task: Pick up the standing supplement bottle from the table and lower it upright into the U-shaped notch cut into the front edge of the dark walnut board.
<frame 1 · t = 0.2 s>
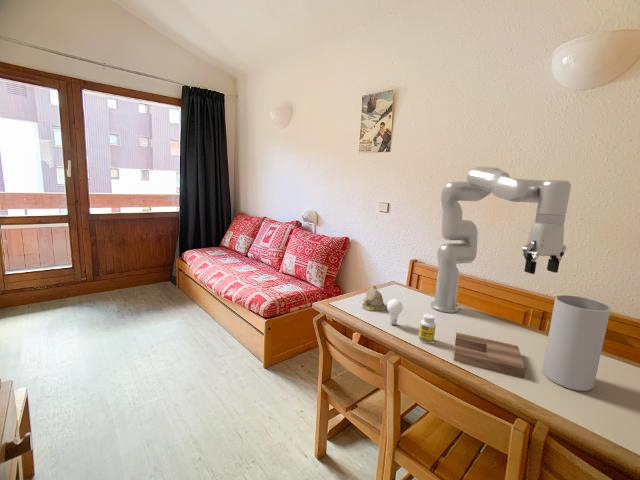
hand: (540, 272, 100), 31 cm above the table, tool pointing down, fingers open, 9 cm apart
ceramic model: (373, 306, 148), on the table
cylinder vase: (566, 379, 95), on the table
notched board: (486, 356, 106), on the table
lightbulb: (393, 325, 128), on the table
supplement bottle: (426, 340, 116), on the table
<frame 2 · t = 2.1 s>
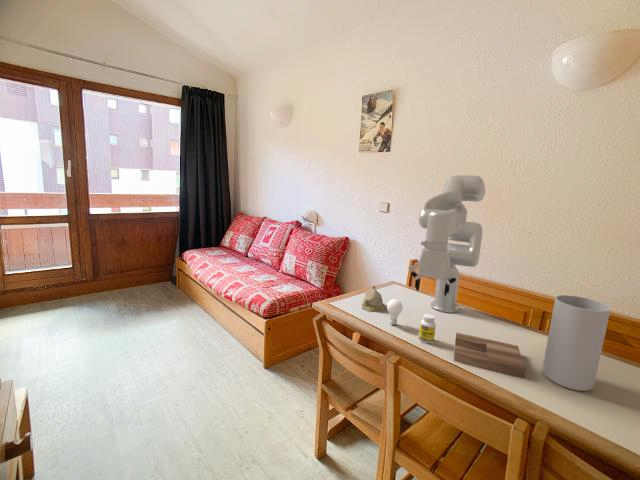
hand: (431, 292, 113), 19 cm above the table, tool pointing down, fingers open, 9 cm apart
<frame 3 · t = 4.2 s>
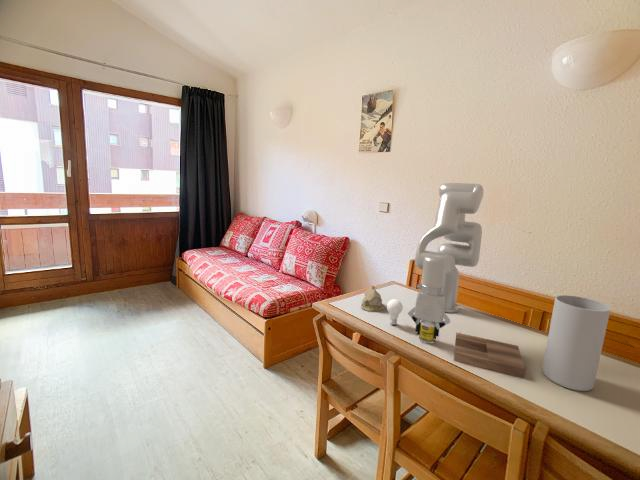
hand: (426, 335, 116), 2 cm above the table, tool pointing down, fingers closed on supplement bottle, 5 cm apart
supplement bottle: (426, 340, 116), on the table, touching gripper
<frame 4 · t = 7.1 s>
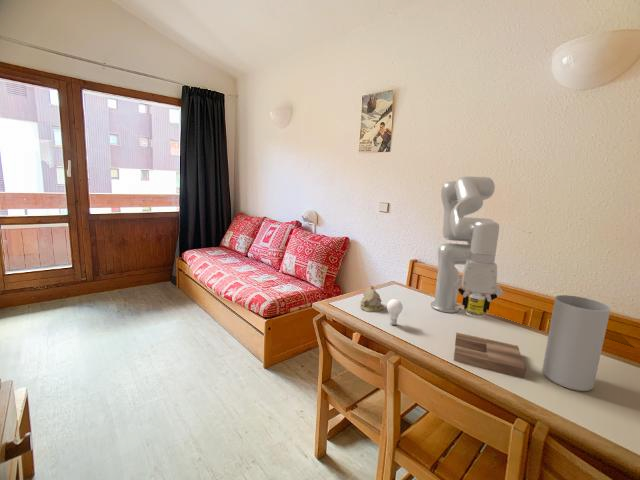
hand: (475, 308, 106), 16 cm above the table, tool pointing down, fingers closed on supplement bottle, 5 cm apart
supplement bottle: (474, 315, 106), point 14 cm above the table, touching gripper
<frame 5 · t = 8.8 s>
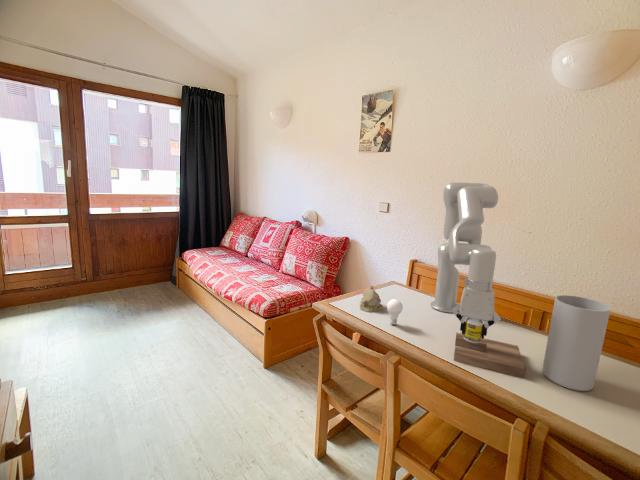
hand: (472, 334, 107), 7 cm above the table, tool pointing down, fingers closed on supplement bottle, 5 cm apart
supplement bottle: (471, 340, 107), point 5 cm above the table, touching gripper
when the fingers open (4 cm above the table, at t = 9.9 s): supplement bottle drops 2 cm, resting in notched board.
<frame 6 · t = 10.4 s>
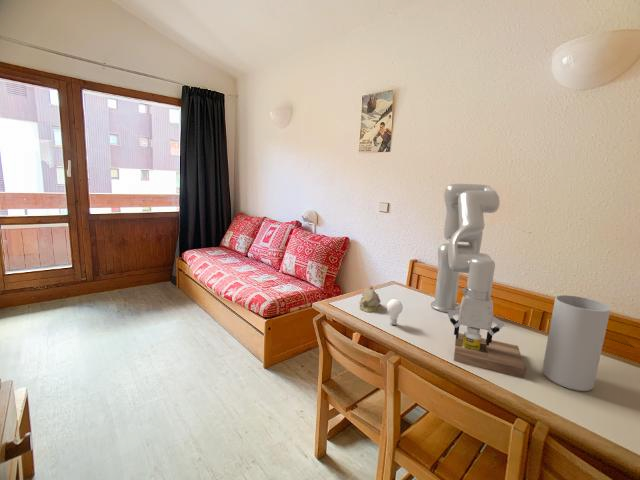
hand: (471, 340, 107), 5 cm above the table, tool pointing down, fingers open, 9 cm apart
supplement bottle: (470, 353, 108), resting in notched board
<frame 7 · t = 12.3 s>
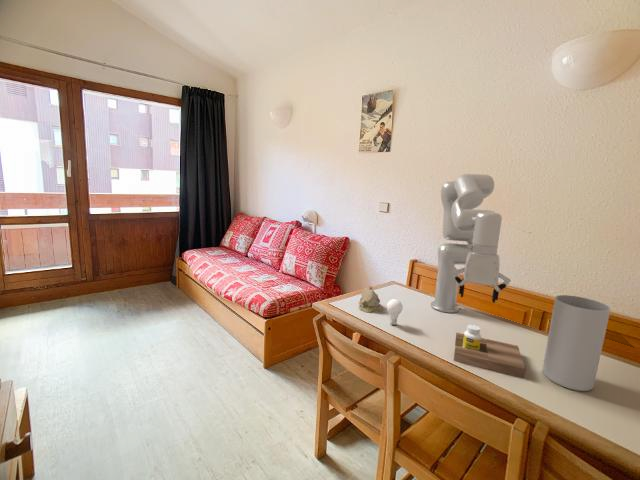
hand: (477, 298, 105), 20 cm above the table, tool pointing down, fingers open, 9 cm apart
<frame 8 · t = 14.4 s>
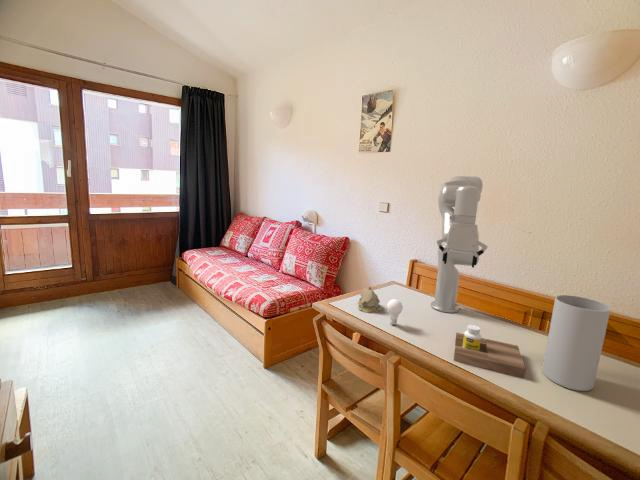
hand: (458, 264, 117), 28 cm above the table, tool pointing down, fingers open, 9 cm apart
at the end: supplement bottle 0.1 cm from the target spot on the notched board, point 0.0 cm above the notched board's base; supplement bottle tilted 0°; the gripper is holding nothing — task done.
